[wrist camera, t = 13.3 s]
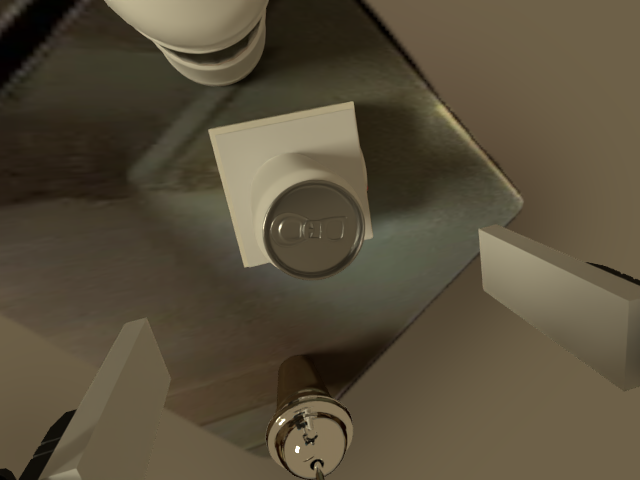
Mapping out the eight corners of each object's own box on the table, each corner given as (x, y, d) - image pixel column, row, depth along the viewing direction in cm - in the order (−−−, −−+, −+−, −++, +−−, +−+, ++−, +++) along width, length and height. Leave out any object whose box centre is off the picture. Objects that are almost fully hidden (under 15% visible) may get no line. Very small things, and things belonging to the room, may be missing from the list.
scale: (214, 127, 38) (206, 130, 30) (342, 102, 40) (368, 98, 32) (244, 243, 42) (244, 273, 34) (360, 217, 44) (387, 239, 36)
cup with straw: (337, 390, 50) (395, 557, 31) (265, 411, 49) (280, 596, 30) (325, 331, 47) (380, 475, 28) (248, 352, 46) (253, 515, 27)
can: (249, 151, 31) (253, 170, 20) (330, 153, 33) (377, 172, 21) (250, 231, 33) (254, 290, 22) (327, 230, 34) (368, 285, 23)
